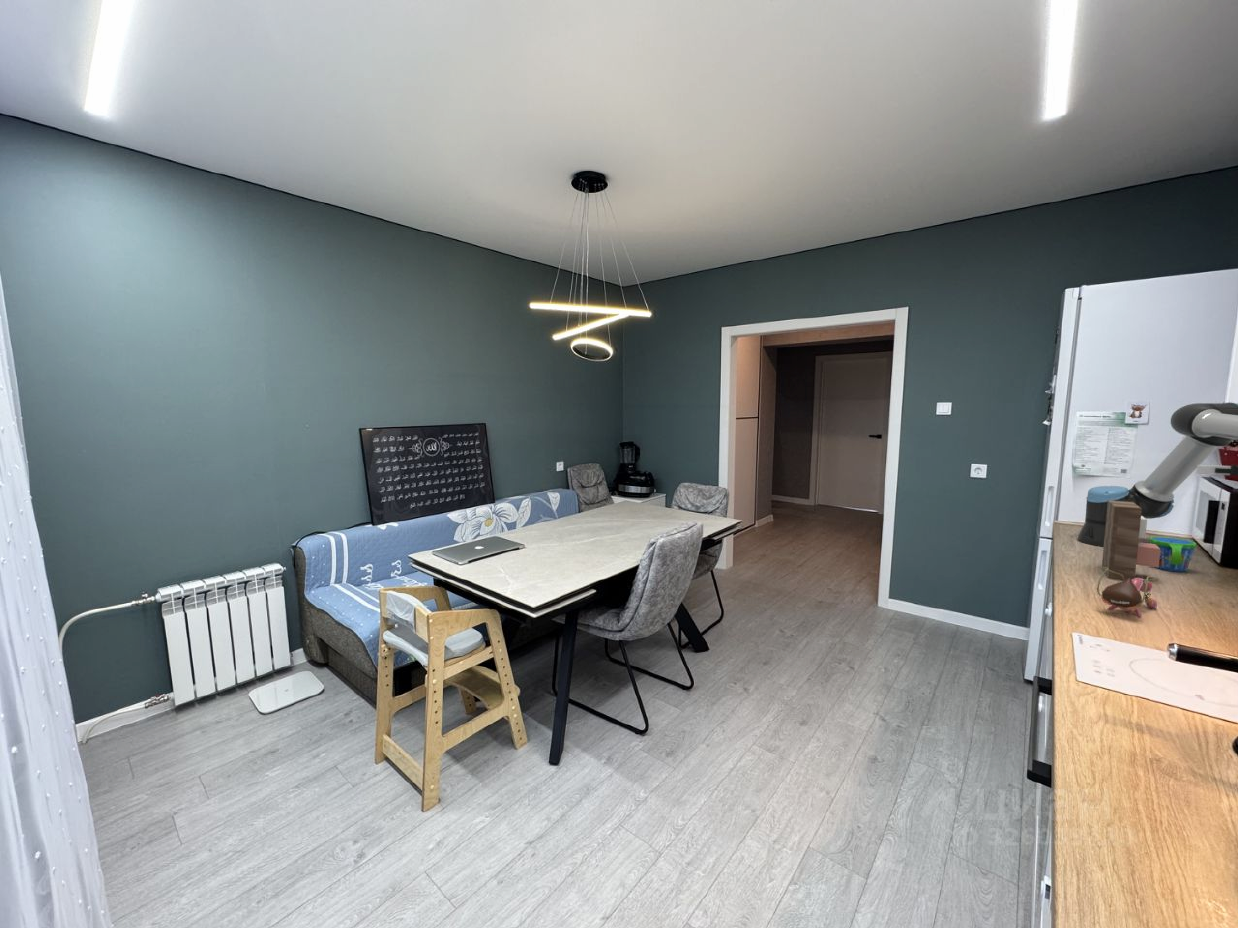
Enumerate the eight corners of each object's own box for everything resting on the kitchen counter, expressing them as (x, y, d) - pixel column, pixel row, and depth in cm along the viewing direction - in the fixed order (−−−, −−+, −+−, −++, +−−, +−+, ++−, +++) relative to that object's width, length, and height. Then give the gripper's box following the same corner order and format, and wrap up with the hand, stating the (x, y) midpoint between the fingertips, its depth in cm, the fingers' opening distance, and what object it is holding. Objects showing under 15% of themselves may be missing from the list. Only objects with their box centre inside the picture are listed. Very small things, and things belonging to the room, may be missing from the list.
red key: (1131, 559, 163) (1133, 541, 163) (1153, 561, 160) (1155, 544, 160) (1135, 564, 158) (1137, 546, 157) (1158, 567, 155) (1160, 548, 154)
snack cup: (1146, 560, 177) (1149, 533, 176) (1191, 567, 170) (1194, 538, 168) (1147, 570, 166) (1150, 541, 165) (1195, 578, 159) (1198, 547, 158)
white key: (1119, 531, 164) (1120, 514, 164) (1140, 533, 161) (1142, 515, 161) (1123, 535, 159) (1124, 517, 158) (1145, 538, 156) (1147, 519, 155)
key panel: (1101, 567, 171) (1107, 500, 168) (1126, 570, 167) (1132, 501, 164) (1108, 578, 160) (1114, 506, 157) (1134, 582, 156) (1141, 508, 153)
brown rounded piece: (1178, 596, 134) (1166, 558, 128) (1157, 641, 130) (1144, 604, 124) (1121, 584, 144) (1108, 548, 138) (1101, 625, 140) (1086, 590, 134)
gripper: (1332, 490, 135) (1202, 483, 149) (1309, 484, 145) (1190, 478, 159) (1336, 463, 134) (1205, 459, 149) (1313, 459, 144) (1192, 456, 159)
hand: (1197, 469), depth 154 cm, fingers closed
